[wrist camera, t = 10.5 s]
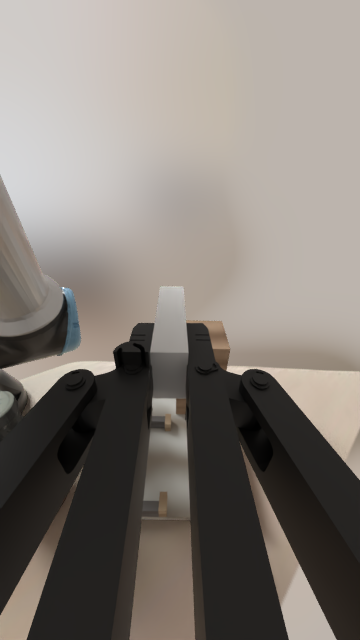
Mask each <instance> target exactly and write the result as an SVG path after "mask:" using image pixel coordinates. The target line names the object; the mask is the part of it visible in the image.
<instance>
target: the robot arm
mask: <svg viewBox="0 0 360 640" xmlns="http://www.w3.org/2000/svg"><path fill="white" fill-rule="evenodd" d="M78 323H79V321H78V313H77V307H76V302H75V298H74V294H73V292H72V290H71V289H69V288H63V287H61V288H60V286H59V285H58V283H57V282H56V281H55V280H53V279H52V278H50V277H49V276H47V275H44V274H43V273H42V271H41V269H40V266H39V264H38V262H37V259H36V257H35V255H34V252H33V250H32V248H31V245H30V243H29V241H28V239H27V236H26V234H25V232H24V229H23V227H22V225H21V222H20V220H19V218H18V216H17V213H16V211H15V208H14V206H13V204H12V201H11V199H10V197H9V194H8V192H7V190H6V187H5V185H4V183H3V181H2V178H1V176H0V391H8V392H10V393H12V394H13V395H14V397H15V398H16V400H17V401H18V404H19V408H18V409H19V411H20V413H22V411H23V410H24V408H25V405H26V402H27V394H26V391H25V389H24V387H23V386H22V384H21V383H20V382H19V381H18V380H17V379H15V378H14V377H12V376H11V375H9V374H8V373H6V372H5V371H4V370H2V368H7V367H11V366H15V365H19V364H23V363H27V362H31V361H35V360H39V359H43V358H47V357H51V356H55V355H57V356H60V355H62V354H64V353H66V352H70V351H73V350H75V349H77V348H78V347H79V345H80V342H81V336H80V327H79V324H78ZM113 354H114V359H115V365H116V369H115V370H113V371H111V372H108V373H105V374H101V375H97V376H94V375H93V373H92V372H91V371H89V370H86V369H78V370H74V371H71V372H69V373H67V374H65V375H64V376H62V377H61V378H60V379H59V380H58V381H57V382H56V383H55V384H54V385H53V386H52V387H51V389H50V390H49V391H48V392H47V393H46V394H45V395H44V396H43V397H42V398H41V399H40V400H39V401H38V402H37V404H36V405H35V406H34V407H33V408H32V409H31V410H30V411H29V412H28V413H27V414H26V415H25V416H24V417H23V419H22V420H21V421H20V422H19V423H18V424H17V425H16V426H15V427H14V428H13V429H12V430H11V431H10V432H9V434H8V435H7V436H6V437H5V438H4V439H3V440H2V441H1V442H0V615H1V613H2V611H3V609H4V608H5V606H6V604H7V602H8V600H9V599H10V597H11V595H12V593H13V591H14V590H15V588H16V586H17V584H18V582H19V580H20V579H21V577H22V575H23V573H24V571H25V570H26V568H27V566H28V564H29V562H30V561H31V559H32V557H33V555H34V553H35V552H36V550H37V548H38V546H39V544H40V543H41V541H42V539H43V537H44V535H45V534H46V532H47V530H48V528H49V526H50V525H51V523H52V521H53V519H54V517H55V515H56V514H57V512H58V510H59V508H60V506H61V505H62V503H63V501H64V499H65V497H66V496H67V494H68V492H69V490H70V488H71V487H72V485H73V483H74V481H75V479H76V478H77V476H78V474H79V472H80V470H81V469H82V467H83V465H84V467H83V470H82V473H81V476H80V479H79V482H78V485H77V488H76V491H75V494H74V497H73V500H72V503H71V506H70V509H69V512H68V515H67V518H66V522H65V525H64V528H63V531H62V534H61V537H60V540H59V543H58V546H57V549H56V552H55V555H54V558H53V561H52V564H51V567H50V570H49V573H48V576H47V579H46V582H45V585H44V588H43V591H42V594H41V598H40V601H39V604H38V607H37V610H36V613H35V616H34V619H33V622H32V625H31V628H30V631H29V634H28V637H27V640H129V637H130V627H131V617H132V607H133V597H134V588H135V578H136V568H137V558H138V548H139V538H140V528H141V519H142V509H143V499H144V489H145V479H146V469H147V460H148V450H149V440H150V430H151V420H152V410H153V409H152V398H166V399H186V413H185V420H186V428H187V452H188V475H189V499H190V523H191V547H192V570H193V594H194V618H195V640H289V639H288V635H287V631H286V627H285V623H284V619H283V615H282V611H281V607H280V603H279V599H278V595H277V591H276V587H275V583H274V579H273V575H272V571H271V567H270V563H269V559H268V555H267V551H266V547H265V543H264V538H263V534H262V530H261V526H260V522H259V518H258V514H257V510H256V506H255V502H254V498H253V494H252V490H251V486H250V482H249V478H248V474H247V470H246V466H245V462H244V458H243V454H242V450H241V446H240V443H241V445H242V447H243V449H244V452H245V454H246V456H247V458H248V460H249V462H250V464H251V466H252V468H253V470H254V472H255V474H256V476H257V478H258V480H259V482H260V484H261V486H262V488H263V490H264V492H265V494H266V496H267V498H268V501H269V503H270V505H271V507H272V509H273V511H274V513H275V515H276V517H277V519H278V521H279V523H280V525H281V527H282V529H283V531H284V533H285V535H286V537H287V539H288V541H289V543H290V545H291V547H292V550H293V552H294V554H295V556H296V558H297V560H298V562H299V564H300V566H301V568H302V570H303V572H304V574H305V576H306V578H307V580H308V582H309V584H310V586H311V588H312V590H313V592H314V594H315V596H316V599H317V601H318V603H319V605H320V607H321V609H322V611H323V613H324V614H325V617H326V619H327V621H328V623H329V625H330V627H331V629H332V631H333V633H334V635H335V637H336V639H337V640H360V480H359V479H358V478H357V477H356V475H355V474H354V473H353V472H352V470H351V469H350V468H349V467H348V466H347V465H346V463H345V462H344V461H343V460H342V458H341V457H340V456H339V455H338V454H337V453H336V451H335V450H334V449H333V448H332V447H331V445H330V444H329V443H328V442H327V441H326V439H325V438H324V437H323V436H322V435H321V433H320V432H319V431H318V430H317V429H316V427H315V426H314V425H313V424H312V423H311V421H310V420H309V419H308V418H307V417H306V415H305V414H304V413H303V412H302V411H301V409H300V408H299V407H298V406H297V405H296V403H295V402H294V401H293V400H292V399H291V397H290V396H289V395H288V394H287V393H286V391H285V390H284V389H283V388H282V387H281V385H280V384H279V383H278V382H277V381H276V379H275V378H274V377H272V376H271V375H270V374H269V373H267V372H265V371H262V370H258V369H250V370H247V371H245V372H244V373H243V374H242V376H241V375H238V374H234V373H230V372H227V371H225V370H224V369H222V368H221V367H220V365H219V364H218V363H217V362H216V360H215V356H214V352H213V348H212V343H211V339H210V336H209V330H208V328H207V327H206V326H205V325H204V324H203V323H186V314H185V301H184V288H183V287H175V286H174V287H173V286H160V292H159V299H158V305H157V311H156V318H155V323H138V324H137V325H136V326H135V327H134V328H133V331H132V334H131V337H130V341H129V342H125V343H123V344H121V345H119V346H118V347H116V348H115V350H114V351H113ZM239 441H240V442H239ZM84 463H85V464H84Z"/></svg>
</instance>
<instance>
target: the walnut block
mask: <svg viewBox="0 0 360 640" xmlns="http://www.w3.org/2000/svg"><path fill="white" fill-rule="evenodd" d="M186 323H203V324H204V325H205V326H206V327H207V328H208V330H209V336H210V339H211V343H212V348H213V352H214V356H215V360H216V362H217V363H218V364H219V365H220V367H221V368H222V369H224V370H225V371H226V369H227V364H228V359H229V353H230V347H229V344H228V340H227V337H226V333H225V330H224V327H223V323H222V321H189V320H188V321H187V320H186ZM185 413H186V399H176V414H185Z"/></svg>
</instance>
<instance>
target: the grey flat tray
mask: <svg viewBox="0 0 360 640" xmlns="http://www.w3.org/2000/svg"><path fill="white" fill-rule="evenodd" d="M152 409H153V410H152V420H151V430H150V440H149V450H148V460H147V469H146V479H145V489H144V499H143V509H142V519H150V520H190V499H189V475H188V452H187V428H186V420H185V414H176V399H166V398H152Z"/></svg>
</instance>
